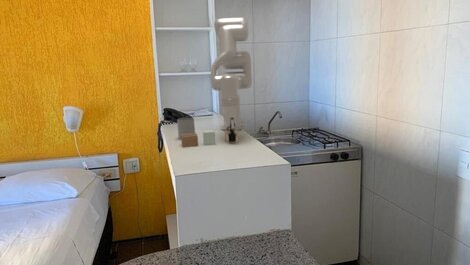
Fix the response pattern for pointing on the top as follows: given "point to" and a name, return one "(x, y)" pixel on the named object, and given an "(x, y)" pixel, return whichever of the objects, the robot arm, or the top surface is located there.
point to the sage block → (209, 137)
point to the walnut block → (189, 140)
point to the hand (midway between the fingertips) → (231, 139)
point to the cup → (185, 126)
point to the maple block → (228, 135)
